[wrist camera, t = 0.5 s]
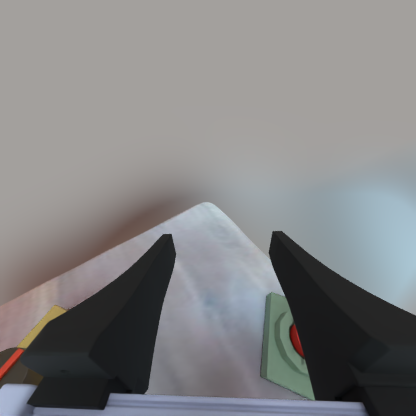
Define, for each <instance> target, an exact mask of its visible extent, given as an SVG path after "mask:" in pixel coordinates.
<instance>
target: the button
mask: <svg viewBox="0 0 416 416" xmlns="http://www.w3.org/2000/svg"><path fill="white" fill-rule="evenodd" d="M290 336H291V341H292V343H293V346H294V347H295V349H296V350H297V352H298V353H299V354H300V355H302V356H303V357H304V355H303V351H302V347H301V344H300V340H299V337H298V333H297V330H296V327H295V324H294V325H293V326H292V328H291V331H290Z"/></svg>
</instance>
